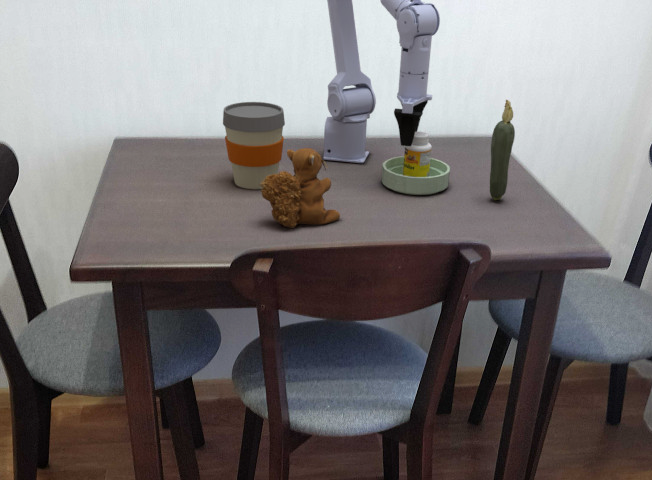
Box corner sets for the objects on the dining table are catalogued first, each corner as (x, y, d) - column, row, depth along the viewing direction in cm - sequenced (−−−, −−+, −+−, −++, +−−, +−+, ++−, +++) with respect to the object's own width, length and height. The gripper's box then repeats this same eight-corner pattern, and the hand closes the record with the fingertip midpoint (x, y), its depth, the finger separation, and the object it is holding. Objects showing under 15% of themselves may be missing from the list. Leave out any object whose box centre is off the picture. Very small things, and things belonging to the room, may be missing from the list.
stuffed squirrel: (343, 219, 148) (346, 151, 140) (287, 238, 139) (286, 166, 132) (309, 204, 153) (309, 138, 146) (253, 221, 145) (251, 152, 138)
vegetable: (504, 206, 156) (519, 104, 145) (482, 203, 157) (496, 103, 146) (504, 198, 160) (520, 99, 149) (483, 196, 160) (497, 97, 149)
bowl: (376, 192, 160) (377, 174, 158) (387, 171, 172) (388, 153, 169) (444, 199, 158) (446, 180, 156) (450, 177, 170) (452, 159, 167)
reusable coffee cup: (214, 184, 161) (209, 111, 153) (247, 168, 170) (244, 98, 162) (264, 196, 156) (263, 121, 148) (296, 178, 166) (296, 107, 157)
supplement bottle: (397, 179, 165) (400, 131, 160) (418, 176, 168) (423, 128, 162) (411, 188, 161) (415, 139, 156) (433, 184, 164) (438, 136, 158)
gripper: (430, 81, 146) (423, 152, 153) (437, 65, 158) (431, 132, 165) (393, 78, 147) (388, 149, 154) (403, 62, 159) (398, 129, 166)
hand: (408, 140), depth 160 cm, fingers open, 7 cm apart
